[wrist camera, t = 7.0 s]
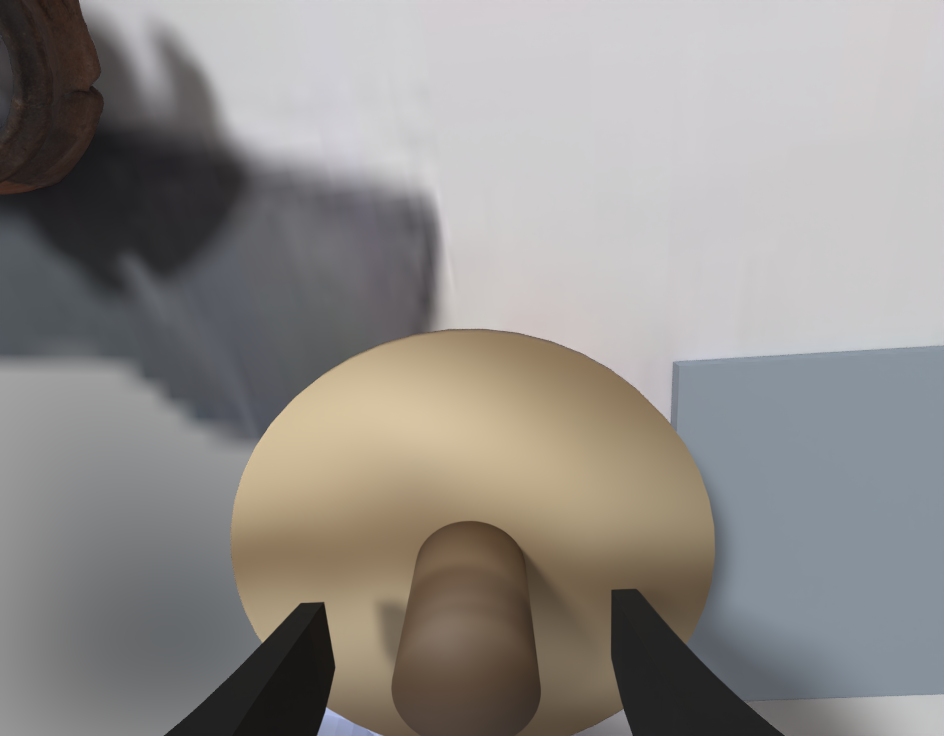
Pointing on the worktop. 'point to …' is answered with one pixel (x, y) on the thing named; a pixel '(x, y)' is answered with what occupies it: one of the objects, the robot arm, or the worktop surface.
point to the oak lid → (471, 531)
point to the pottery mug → (47, 92)
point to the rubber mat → (821, 520)
